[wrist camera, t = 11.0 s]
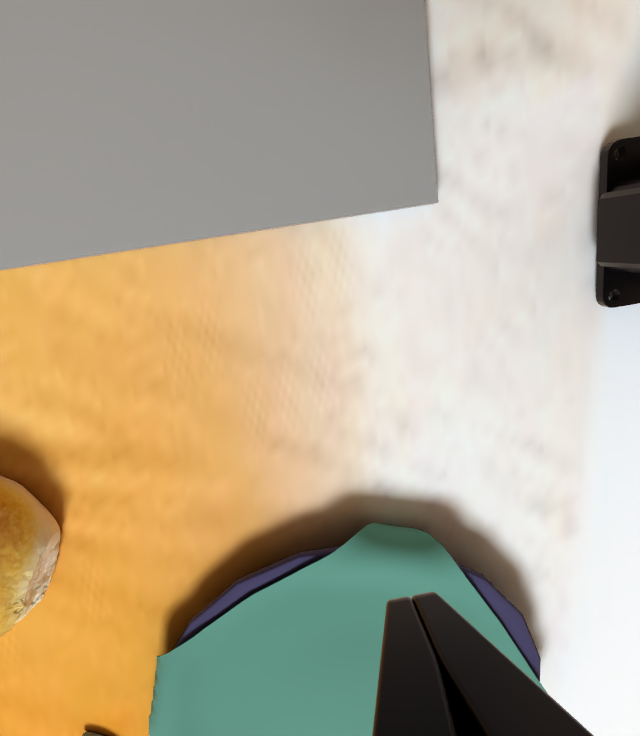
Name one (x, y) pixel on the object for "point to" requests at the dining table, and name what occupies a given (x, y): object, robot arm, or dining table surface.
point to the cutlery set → (316, 639)
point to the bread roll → (24, 552)
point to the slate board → (205, 119)
